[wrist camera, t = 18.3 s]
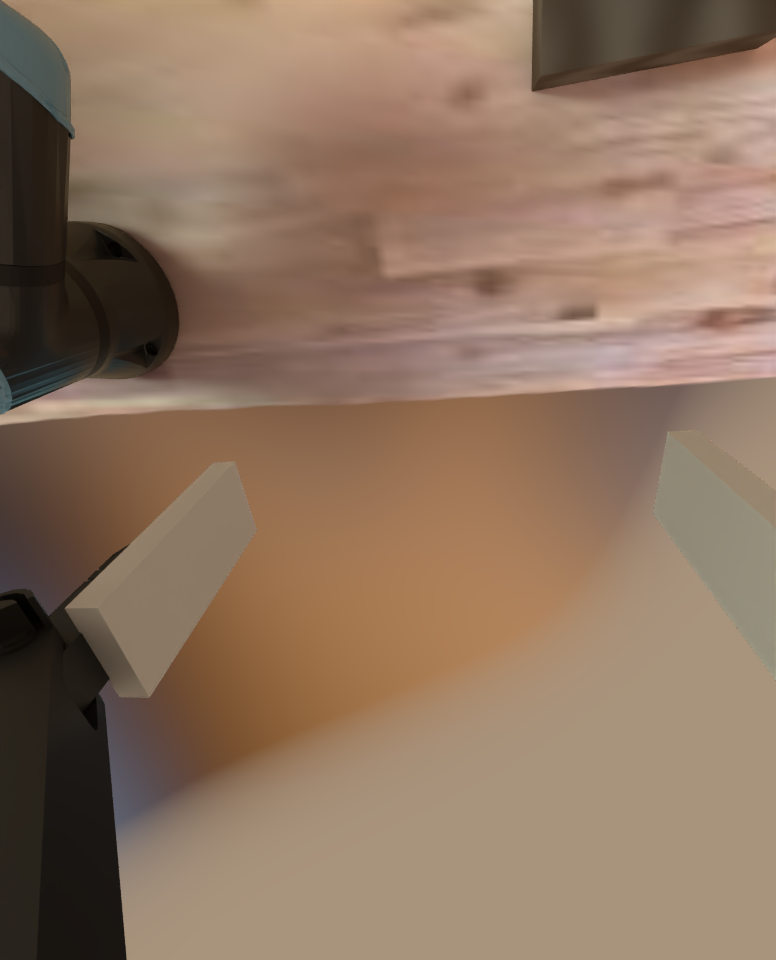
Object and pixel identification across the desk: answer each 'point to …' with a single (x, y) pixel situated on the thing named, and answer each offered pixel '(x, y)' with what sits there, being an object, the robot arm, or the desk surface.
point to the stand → (639, 35)
